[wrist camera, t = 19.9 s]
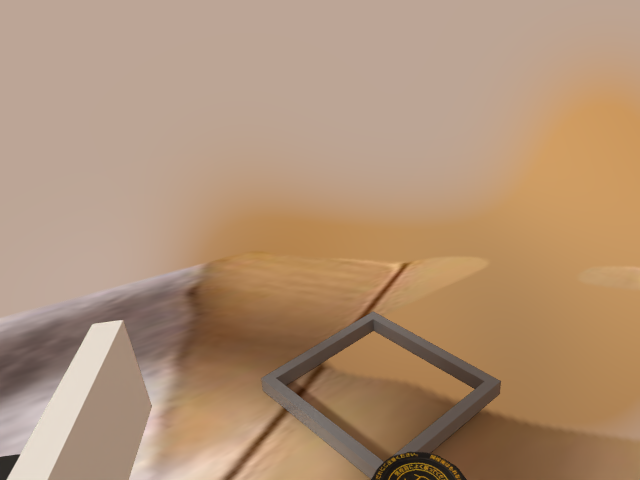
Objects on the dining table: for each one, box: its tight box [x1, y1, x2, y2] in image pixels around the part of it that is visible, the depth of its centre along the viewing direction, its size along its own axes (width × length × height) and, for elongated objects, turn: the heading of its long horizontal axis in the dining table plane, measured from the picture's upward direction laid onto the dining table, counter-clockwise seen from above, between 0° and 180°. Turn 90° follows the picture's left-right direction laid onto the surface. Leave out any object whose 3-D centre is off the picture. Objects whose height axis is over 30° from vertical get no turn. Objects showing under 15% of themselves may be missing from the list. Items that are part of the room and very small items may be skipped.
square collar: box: [261, 312, 501, 479], centre depth 55 cm, size 16×15×2 cm
